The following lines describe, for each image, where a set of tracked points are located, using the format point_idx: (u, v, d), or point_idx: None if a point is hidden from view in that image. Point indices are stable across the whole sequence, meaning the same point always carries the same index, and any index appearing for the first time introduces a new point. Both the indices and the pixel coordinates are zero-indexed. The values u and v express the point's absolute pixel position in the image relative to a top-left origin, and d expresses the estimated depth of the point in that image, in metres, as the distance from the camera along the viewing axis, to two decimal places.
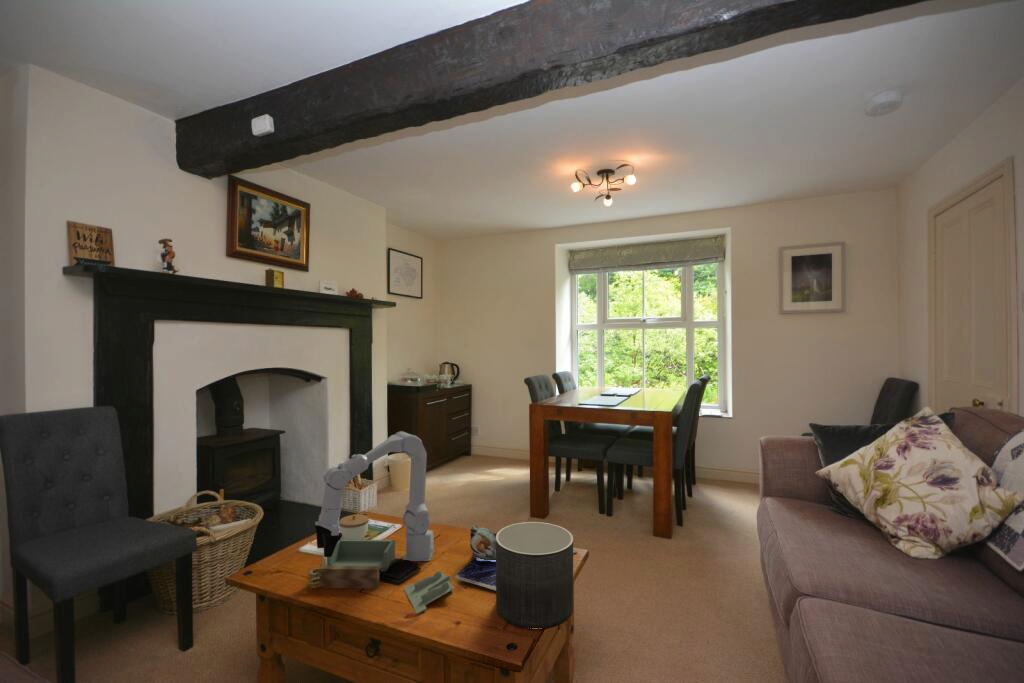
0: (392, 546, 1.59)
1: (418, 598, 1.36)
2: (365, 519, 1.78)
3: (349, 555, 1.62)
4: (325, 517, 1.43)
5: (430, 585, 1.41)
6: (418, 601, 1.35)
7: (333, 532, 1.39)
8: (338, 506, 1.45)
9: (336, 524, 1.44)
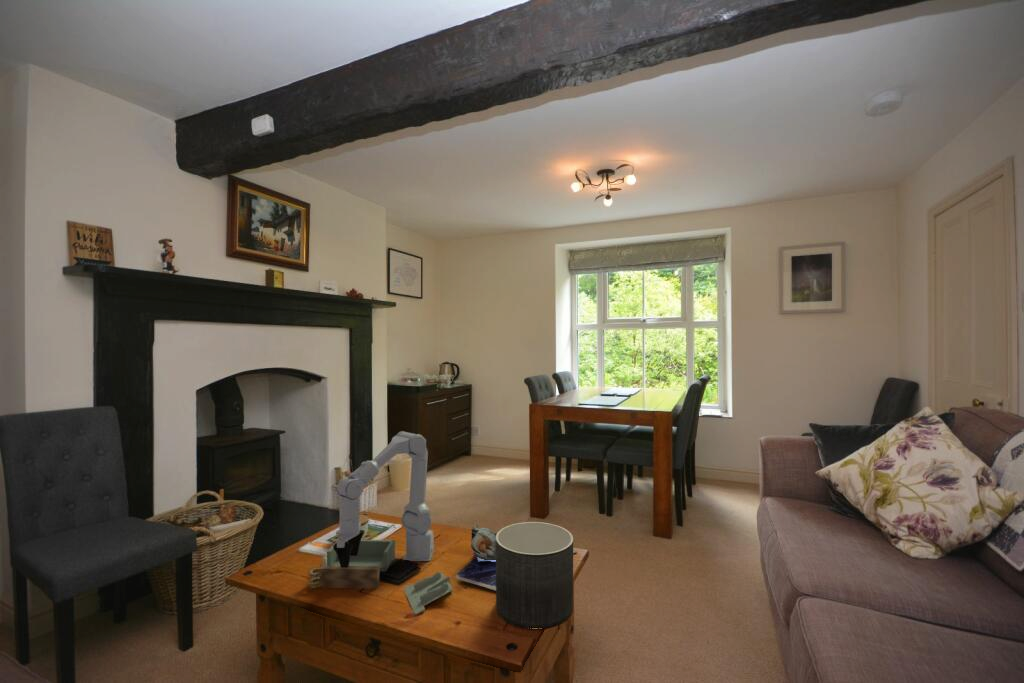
0: (392, 546, 1.59)
1: (417, 599, 1.36)
2: (365, 519, 1.78)
3: None
4: (340, 526, 1.43)
5: (429, 586, 1.41)
6: (417, 602, 1.34)
7: (337, 544, 1.37)
8: (357, 515, 1.44)
9: (350, 535, 1.42)
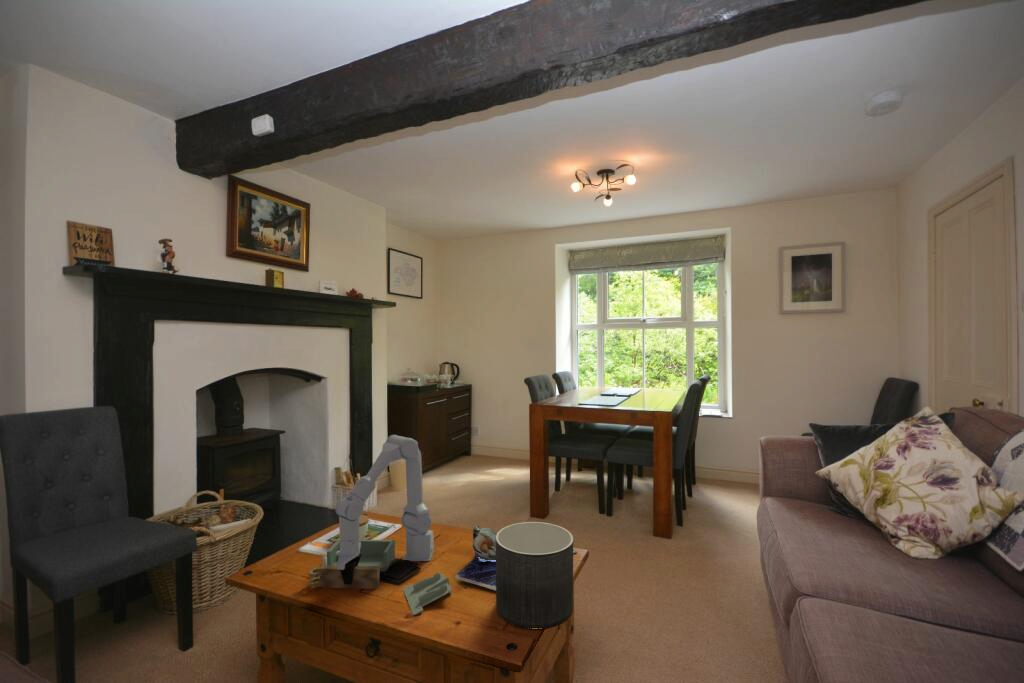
0: (392, 546, 1.59)
1: (416, 599, 1.35)
2: (365, 519, 1.78)
3: None
4: (340, 547, 1.43)
5: (429, 586, 1.40)
6: (415, 603, 1.34)
7: (338, 566, 1.37)
8: (357, 536, 1.44)
9: (350, 556, 1.42)
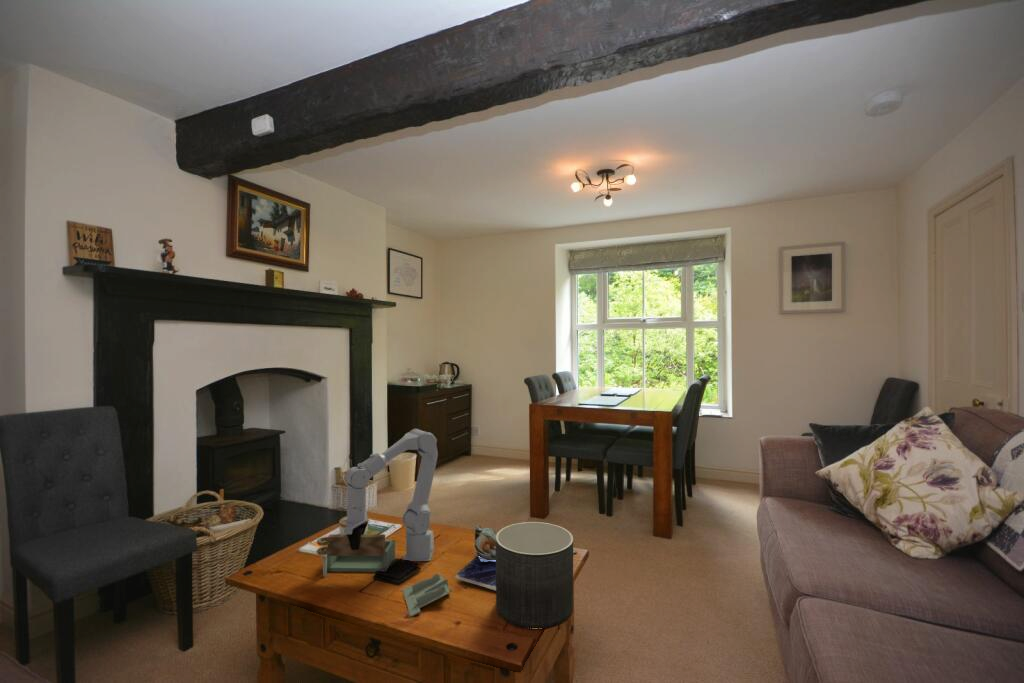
0: (392, 546, 1.59)
1: (414, 600, 1.35)
2: None
3: None
4: (347, 514, 1.49)
5: (427, 587, 1.40)
6: (413, 604, 1.33)
7: (345, 531, 1.43)
8: (363, 504, 1.49)
9: (357, 522, 1.48)
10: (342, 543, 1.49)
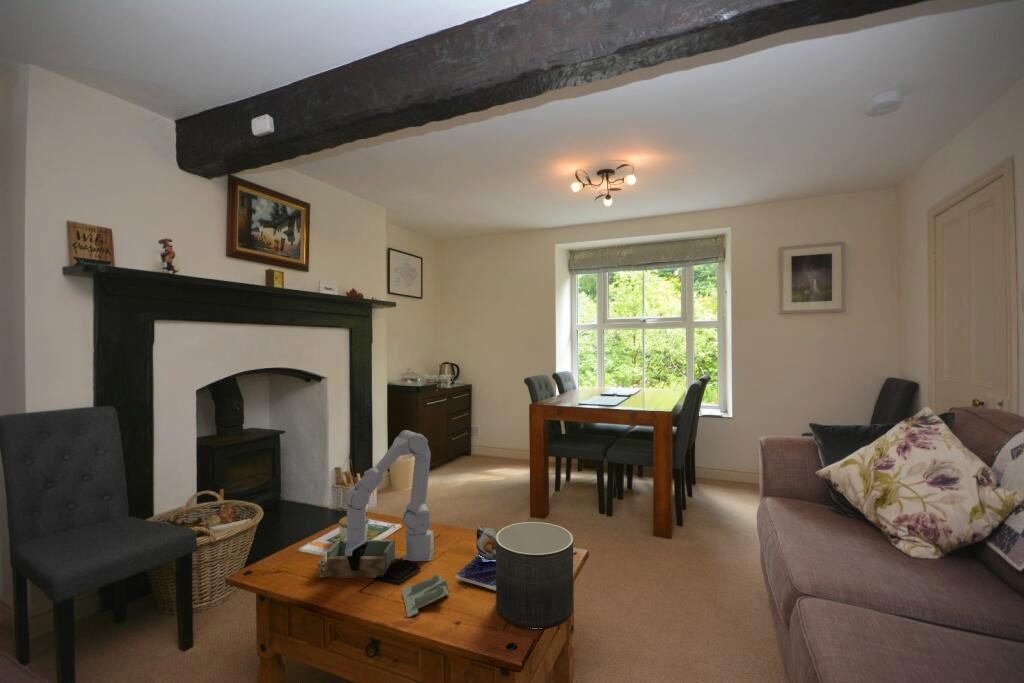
0: (392, 546, 1.59)
1: (412, 601, 1.34)
2: None
3: None
4: (347, 535, 1.49)
5: (426, 588, 1.39)
6: (411, 604, 1.33)
7: (345, 552, 1.43)
8: (363, 524, 1.49)
9: (357, 543, 1.48)
10: (342, 565, 1.49)
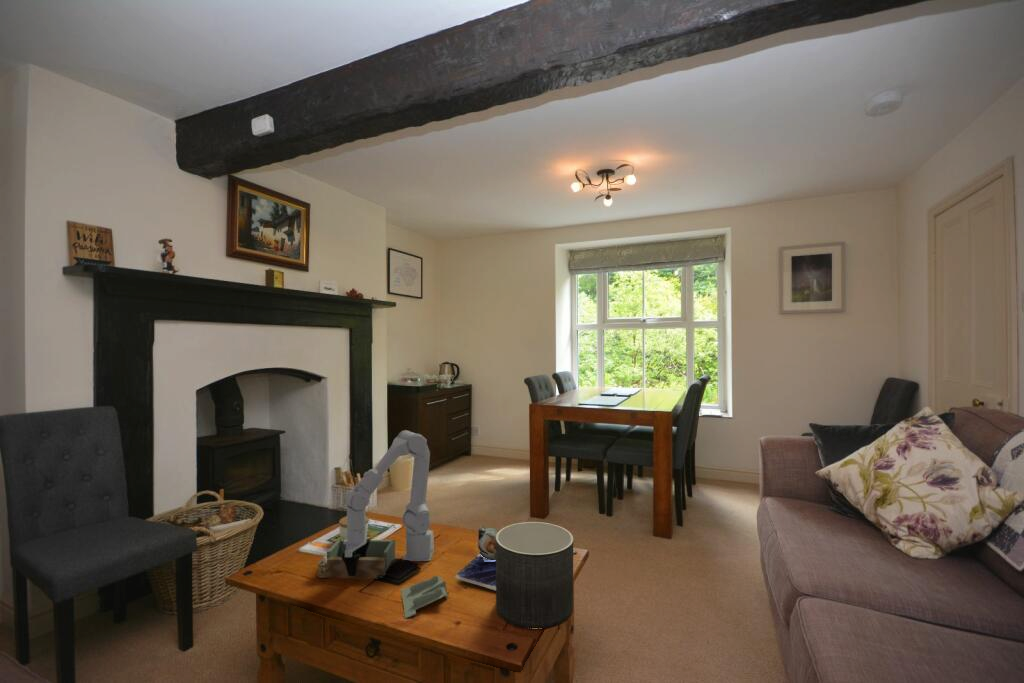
0: (392, 546, 1.59)
1: (411, 602, 1.34)
2: None
3: None
4: (347, 536, 1.49)
5: (425, 589, 1.39)
6: (410, 605, 1.33)
7: (345, 554, 1.43)
8: (363, 526, 1.49)
9: (358, 545, 1.48)
10: (342, 566, 1.49)
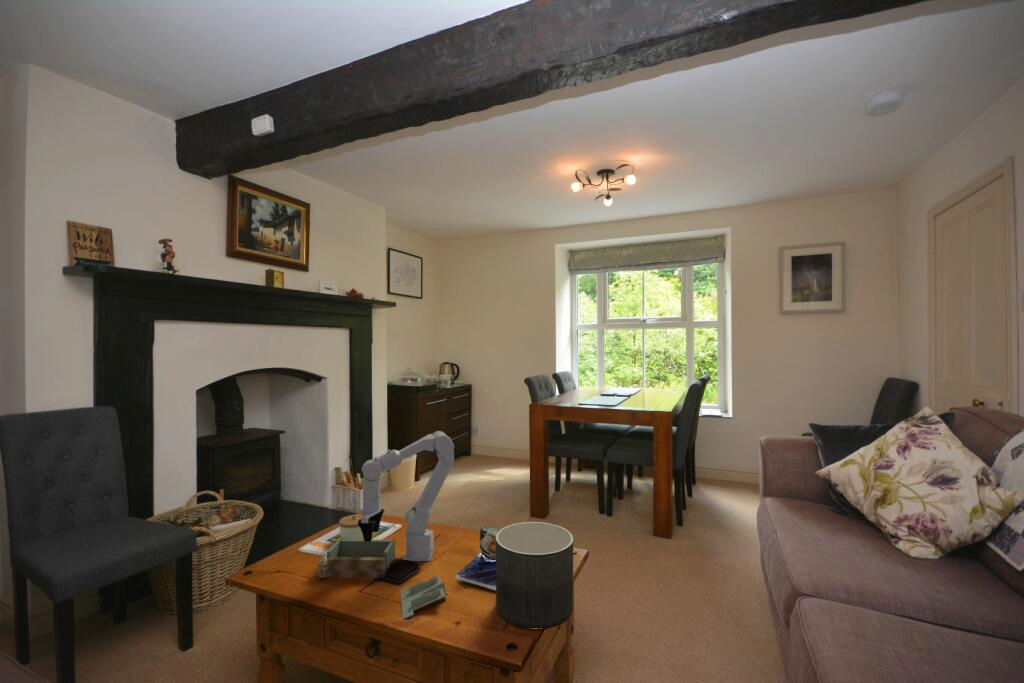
0: (392, 546, 1.59)
1: (409, 602, 1.34)
2: None
3: (349, 555, 1.62)
4: (363, 505, 1.57)
5: (424, 590, 1.38)
6: (408, 606, 1.32)
7: (362, 520, 1.52)
8: (375, 495, 1.57)
9: (373, 512, 1.56)
10: (342, 566, 1.50)
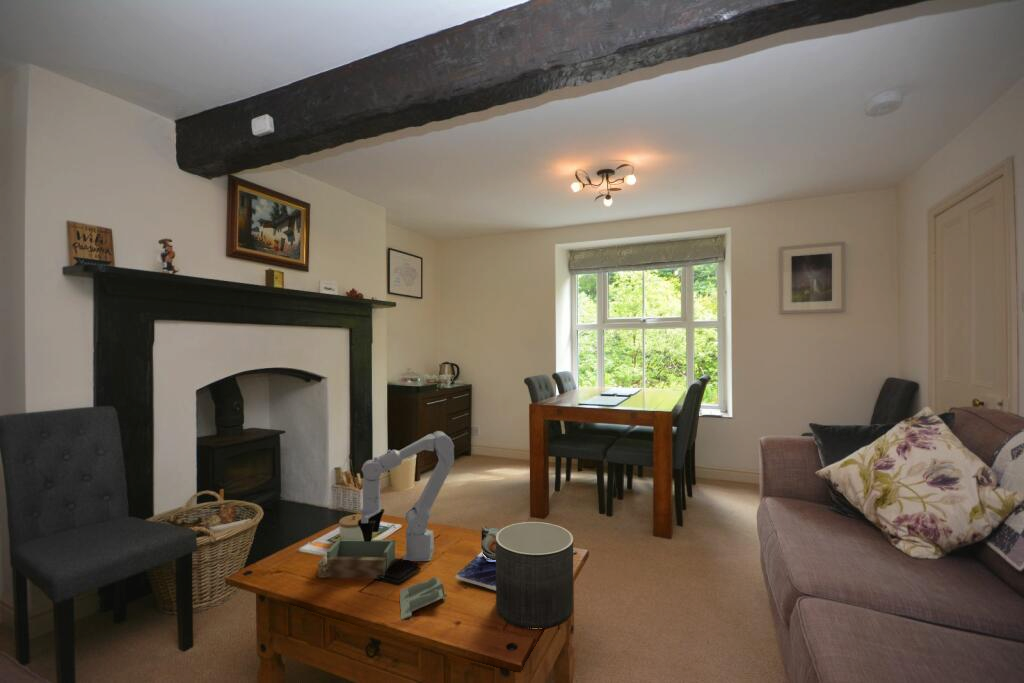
0: (392, 546, 1.59)
1: (408, 603, 1.33)
2: None
3: (349, 555, 1.62)
4: (363, 505, 1.57)
5: (423, 591, 1.38)
6: (406, 606, 1.32)
7: (362, 520, 1.52)
8: (375, 495, 1.57)
9: (373, 512, 1.56)
10: (342, 566, 1.50)
